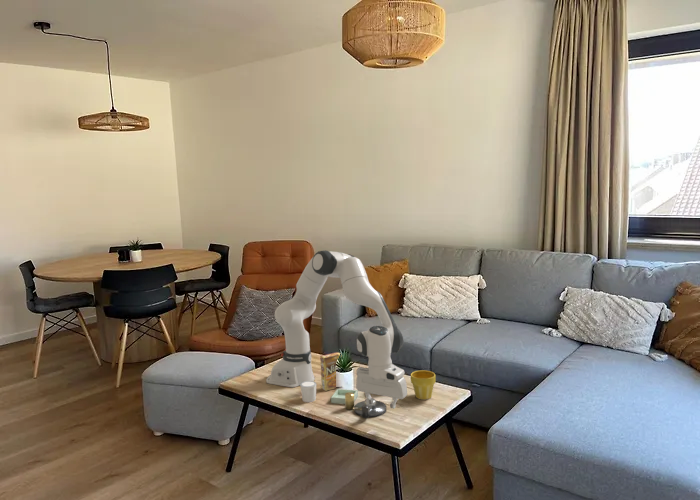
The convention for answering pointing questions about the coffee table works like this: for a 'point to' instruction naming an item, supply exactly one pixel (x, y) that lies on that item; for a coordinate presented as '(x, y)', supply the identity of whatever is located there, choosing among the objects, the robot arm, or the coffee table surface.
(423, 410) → the coffee table surface
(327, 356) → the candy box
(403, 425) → the coffee table surface
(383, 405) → the base
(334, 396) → the tray
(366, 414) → the crank
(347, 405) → the pin
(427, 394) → the plant pot
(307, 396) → the white cylinder
